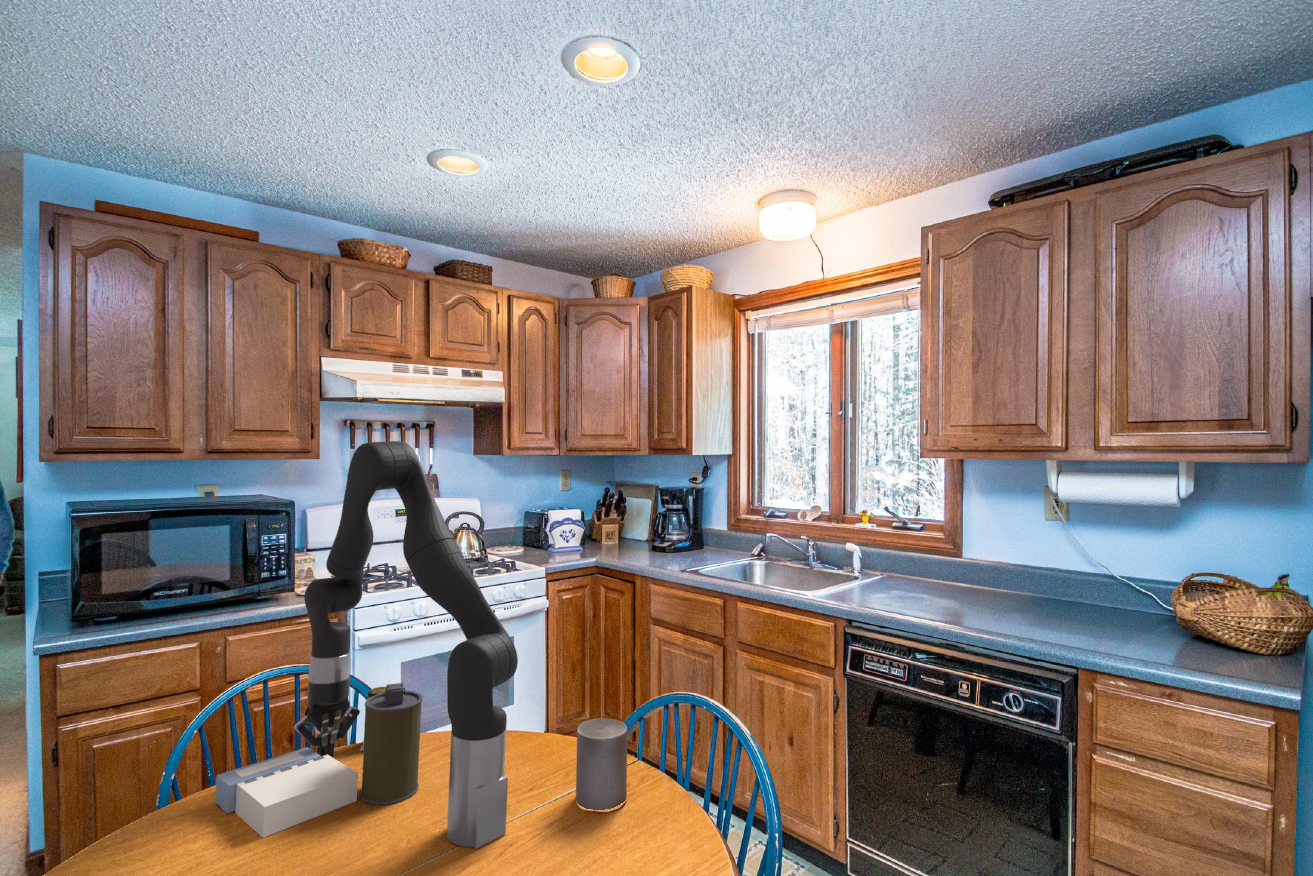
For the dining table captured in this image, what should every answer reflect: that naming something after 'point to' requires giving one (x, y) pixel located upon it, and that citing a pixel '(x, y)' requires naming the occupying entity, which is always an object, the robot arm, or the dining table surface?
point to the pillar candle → (601, 764)
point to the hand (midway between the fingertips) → (325, 762)
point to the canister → (391, 746)
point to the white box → (295, 794)
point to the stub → (255, 775)
